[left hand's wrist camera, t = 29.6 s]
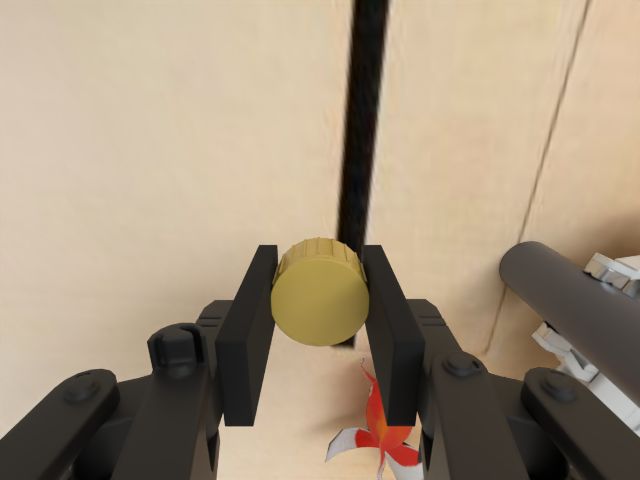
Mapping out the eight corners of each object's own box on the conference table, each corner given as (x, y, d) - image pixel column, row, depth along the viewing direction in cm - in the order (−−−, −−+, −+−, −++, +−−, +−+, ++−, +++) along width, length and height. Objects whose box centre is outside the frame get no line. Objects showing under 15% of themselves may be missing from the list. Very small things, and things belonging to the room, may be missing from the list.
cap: (362, 232, 14) (369, 252, 12) (366, 312, 15) (374, 343, 13) (269, 240, 14) (261, 262, 12) (282, 319, 15) (276, 351, 13)
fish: (498, 378, 28) (490, 520, 22) (432, 432, 39) (413, 536, 33) (374, 324, 30) (333, 439, 24) (345, 390, 42) (311, 480, 35)
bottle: (554, 280, 30) (1059, 646, 10) (502, 294, 31) (877, 671, 10) (549, 234, 29) (1140, 553, 8) (495, 250, 29) (921, 587, 9)
